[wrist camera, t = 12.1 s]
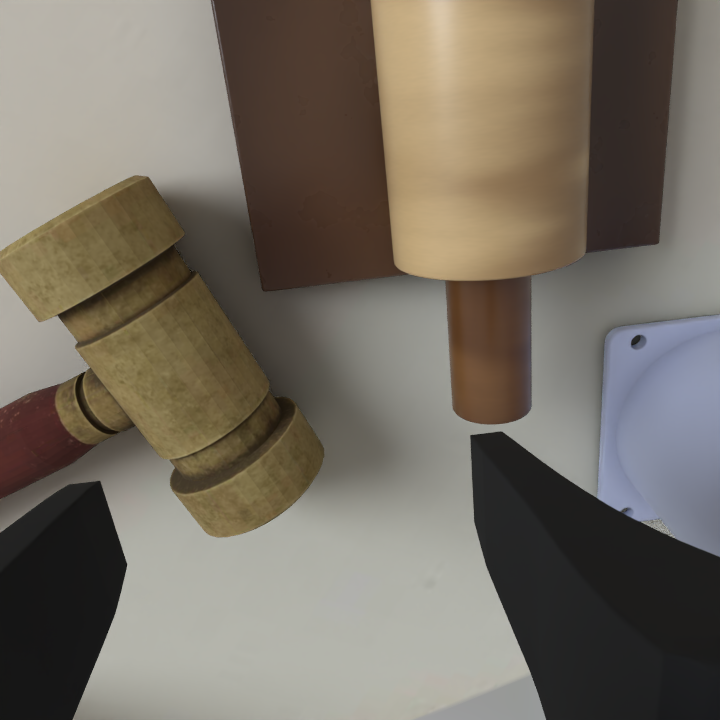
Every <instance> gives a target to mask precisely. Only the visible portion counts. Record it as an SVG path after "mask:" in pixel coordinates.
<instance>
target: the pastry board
mask: <svg viewBox="0 0 720 720" xmlns="http://www.w3.org/2000/svg"><path fill="white" fill-rule="evenodd" d="M211 4H212V10H213V16H214V21H215V27H216V33H217V38H218V44H219V49H220V55H221V61H222V66H223V72H224V78H225V83H226V89H227V94H228V100H229V106H230V111H231V117H232V123H233V128H234V134H235V140H236V145H237V151H238V156H239V162H240V168H241V173H242V179H243V185H244V190H245V196H246V201H247V207H248V213H249V218H250V224H251V230H252V235H253V241H254V247H255V252H256V258H257V263H258V269H259V275H260V280H261V286H262V290H263V291H265V292H268V291H276V290H284V289H292V288H301V287H309V286H317V285H325V284H334V283H342V282H350V281H358V280H367V279H375V278H383V277H391V276H400V275H408V273H405V272H403V271H401V270H400V269H398V268H397V267H396V266H395V264H394V258H393V246H392V235H391V224H390V213H389V201H388V190H387V179H386V168H385V157H384V145H383V134H382V123H381V112H380V101H379V89H378V78H377V67H376V56H375V45H374V33H373V22H372V11H371V0H211ZM677 4H678V0H594V30H593V60H592V90H591V121H590V151H589V182H588V212H587V243H586V252H585V253H589V252H598V251H606V250H614V249H622V248H631V247H639V246H647V245H655V244H658V243H659V235H660V222H661V209H662V197H663V184H664V171H665V158H666V145H667V132H668V120H669V107H670V94H671V81H672V68H673V56H674V43H675V30H676V17H677Z"/></svg>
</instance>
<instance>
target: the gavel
mask: <svg viewBox="0 0 720 720" xmlns="http://www.w3.org/2000/svg"><path fill="white" fill-rule="evenodd" d="M184 235H185V232H184V231H183V229H182V228H181V226H180V225H179V223H178V222H177V220H176V218H175V217H174V215H173V214H172V212H171V211H170V209H169V208H168V206H167V205H166V203H165V202H164V200H163V198H162V197H161V195H160V194H159V192H158V191H157V189H156V188H155V186H154V185H153V183H152V181H151V180H150V178H149V177H145V176H137V175H135V176H133V177H130V178H128V179H126V180H124V181H122V182H120V183H118V184H116V185H114V186H112V187H110V188H108V189H106V190H104V191H102V192H101V193H99V194H97V195H95V196H93V197H91V198H89V199H88V200H86V201H84V202H82V203H80V204H79V205H77V206H75V207H73V208H71V209H70V210H68V211H66V212H64V213H63V214H61V215H59V216H57V217H56V218H54V219H52V220H50V221H49V222H47V223H45V224H44V225H42V226H40V227H38V228H37V229H35V230H33V231H32V232H30V233H28V234H27V235H25V236H23V237H22V238H20V239H19V240H17V241H15V242H14V243H12V244H11V245H9V246H8V247H6V248H5V249H3V250H2V251H1V252H0V273H1V275H2V276H3V277H4V278H5V280H6V281H7V282H8V283H9V285H10V286H11V287H12V288H13V290H14V291H15V292H16V294H17V295H18V296H19V297H20V299H21V300H22V301H23V302H24V304H25V305H26V306H27V307H28V309H29V310H30V311H31V312H32V314H33V315H34V316H35V318H36V319H37V320H38V321H39V322H42V321H45V320H47V319H50V318H52V317H54V316H57V315H58V317H59V318H60V319H61V321H62V322H63V323H64V324H65V326H66V327H67V328H68V330H69V331H70V332H71V333H72V335H73V336H74V337H75V339H76V340H77V341H78V343H77V344H76V346H75V349H76V350H77V351H78V352H79V354H80V355H81V356H82V358H83V359H84V360H85V361H86V363H87V364H88V365H89V366H90V368H89V369H88V370H87V371H86V372H84V373H81V374H80V375H78V376H76V377H74V378H72V379H70V380H68V381H66V382H64V383H62V384H58V385H55V386H52V387H49V388H45V389H42V390H39V391H36V392H33V393H29V394H27V395H25V396H23V397H21V398H20V399H18V400H16V401H14V402H12V403H10V404H8V405H6V406H5V407H3V408H1V409H0V499H1V498H3V497H5V496H8V495H10V494H12V493H14V492H16V491H18V490H20V489H22V488H24V487H26V486H28V485H30V484H32V483H34V482H36V481H38V480H40V479H42V478H44V477H46V476H48V475H50V474H52V473H54V472H56V471H58V470H60V469H62V468H64V467H66V466H68V465H70V464H72V463H73V462H75V461H76V460H77V459H79V458H80V457H81V456H83V455H84V454H85V453H87V452H88V451H89V450H91V449H92V448H93V447H94V446H96V445H97V444H98V443H100V442H102V441H104V440H106V439H108V438H110V437H112V436H114V435H116V434H118V433H119V432H121V431H126V430H128V429H130V428H132V427H134V426H136V427H137V428H138V429H139V431H140V432H141V433H142V434H143V436H144V437H145V438H146V440H147V441H148V442H149V443H150V445H151V446H152V447H153V449H154V450H155V451H156V452H157V454H158V455H159V456H160V457H161V458H163V459H169V460H170V461H171V463H172V464H173V465H174V466H175V469H174V470H173V473H172V475H171V478H170V486H171V489H172V491H173V492H174V493H175V494H176V496H177V497H178V498H179V500H180V501H181V502H182V503H183V505H184V506H185V507H186V508H187V510H188V511H189V512H190V513H191V515H192V516H193V517H194V518H195V520H196V521H197V522H198V524H199V525H200V526H201V527H202V529H203V530H204V531H205V532H206V533H208V534H209V535H211V536H214V537H230V536H235V535H239V534H242V533H246V532H248V531H251V530H254V529H256V528H258V527H260V526H262V525H264V524H266V523H268V522H270V521H271V520H273V519H274V518H276V517H277V516H279V515H280V514H282V513H283V512H284V511H285V510H287V509H288V508H289V507H290V506H291V505H293V504H294V503H295V502H296V501H297V500H298V499H299V498H300V497H301V496H302V495H303V493H304V492H305V491H306V490H307V489H308V487H309V486H310V484H311V483H312V482H313V480H314V479H315V477H316V475H317V474H318V472H319V469H320V467H321V465H322V462H323V458H324V448H323V446H322V444H321V442H320V440H319V439H318V437H317V436H316V434H315V433H314V431H313V430H312V428H311V427H310V425H309V424H308V422H307V420H306V419H305V417H304V416H303V414H302V413H301V411H300V410H299V408H298V407H297V405H296V403H295V402H294V401H293V400H291V399H290V398H286V397H275V398H274V397H273V396H272V394H271V393H270V391H269V385H270V383H269V381H268V379H267V377H266V376H265V374H264V373H263V371H262V370H261V368H260V367H259V365H258V364H257V362H256V361H255V359H254V357H253V356H252V354H251V353H250V351H249V350H248V348H247V347H246V345H245V344H244V342H243V341H242V339H241V338H240V336H239V335H238V333H237V332H236V330H235V329H234V327H233V326H232V324H231V322H230V321H229V319H228V318H227V316H226V315H225V313H224V312H223V310H222V309H221V307H220V306H219V304H218V303H217V301H216V300H215V298H214V297H213V295H212V294H211V292H210V291H209V289H208V287H207V286H206V284H205V283H204V281H203V280H202V278H201V277H200V275H199V274H198V272H196V271H193V272H190V270H189V269H188V267H187V266H186V264H185V263H184V261H183V260H182V258H181V257H180V255H179V254H178V252H177V250H176V249H175V247H174V246H173V245H174V244H175V243H176V242H177V241H178V240H180V239H181V238H182V237H183V236H184Z"/></svg>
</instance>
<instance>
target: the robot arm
mask: <svg viewBox="0 0 720 720" xmlns="http://www.w3.org/2000/svg"><path fill="white" fill-rule="evenodd" d="M637 335H641V338H640V341H639V342H638V343H637V344H635V345H631V341H632V339H633V338H634V337H635V336H637ZM470 438H471V460H472V481H473V503H474V522H475V526H476V530H477V534H478V537H479V541H480V545H481V548H482V552H483V555H484V559H485V563H486V566H487V569H488V571H489V574H490V576H491V579H492V581H493V584H494V586H495V588H496V591H497V593H498V596H499V598H500V601H501V603H502V605H503V608H504V610H505V613H506V615H507V617H508V620H509V622H510V624H511V627H512V629H513V632H514V634H515V636H516V639H517V641H518V644H519V646H520V648H521V651H522V653H523V655H524V658H525V660H526V663H527V665H528V667H529V670H530V673H531V675H532V678H533V681H534V683H535V686H536V689H537V692H538V694H539V698H540V701H541V704H542V707H543V711H544V714H545V717H546V720H720V314H718V315H710V316H702V317H694V318H686V319H677V320H669V321H661V322H653V323H645V324H636V325H628V326H620V327H617V328H614V329H613V330H611V331H610V332H609V333H608V335H607V336H606V339H605V347H604V368H603V390H602V411H601V432H600V454H599V475H598V497H597V498H596V497H594V496H593V495H591V494H589V493H588V492H586V491H584V490H583V489H581V488H580V487H578V486H577V485H575V484H574V483H572V482H570V481H569V480H567V479H566V478H565V477H563V476H562V475H560V474H559V473H557V472H556V471H554V470H553V469H552V468H550V467H549V466H547V465H546V464H545V463H543V462H542V461H541V460H539V459H538V458H536V457H535V456H534V455H532V454H531V453H530V452H528V451H527V450H526V449H524V448H523V447H522V446H521V445H519V444H518V443H517V442H515V441H514V440H513V439H511V438H510V437H509V436H507V435H506V434H505V433H503V432H494V433H485V434H477V435H470ZM624 508H628V510H626V511H625V512H623V513H622V512H621V511H622V510H623V509H624ZM656 519H661V520H662V522H663V523H664V524H665V525H666V527H667V528H668V529H669V530H670V532H671V533H672V534H673V535H674V537H675V538H676V539H675V538H673V537H670V536H668V535H666V534H664V533H661V532H659V531H657V530H655V529H653V528H651V527H649V526H647V525H645V524H643V523H641V522H640V521H648V520H656ZM126 568H127V563H126V559H125V556H124V553H123V550H122V547H121V544H120V541H119V538H118V535H117V532H116V529H115V525H114V522H113V519H112V516H111V513H110V510H109V507H108V504H107V501H106V498H105V494H104V491H103V488H102V485H101V482H100V481H95V482H87V483H78V484H70V485H67V486H66V487H64V488H62V489H61V490H59V491H58V492H56V493H55V494H53V495H52V496H50V497H49V498H47V499H46V500H44V501H43V502H42V503H40V504H39V505H37V506H36V507H35V508H33V509H32V510H31V511H29V512H28V513H27V514H25V515H24V516H22V517H21V518H20V519H18V520H17V521H16V522H14V523H13V524H12V525H10V526H9V527H8V528H6V529H5V530H4V531H2V532H1V533H0V720H72V719H73V717H74V714H75V712H76V710H77V707H78V705H79V702H80V700H81V697H82V695H83V692H84V690H85V688H86V685H87V683H88V680H89V678H90V675H91V673H92V670H93V668H94V666H95V663H96V661H97V658H98V656H99V653H100V651H101V648H102V646H103V643H104V641H105V638H106V636H107V633H108V631H109V628H110V626H111V623H112V620H113V618H114V615H115V612H116V609H117V605H118V601H119V597H120V594H121V590H122V585H123V581H124V577H125V572H126Z"/></svg>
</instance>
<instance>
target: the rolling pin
mask: <svg viewBox="0 0 720 720" xmlns="http://www.w3.org/2000/svg"><path fill="white" fill-rule="evenodd" d="M371 11H372V22H373V33H374V45H375V56H376V67H377V78H378V89H379V101H380V112H381V123H382V134H383V145H384V157H385V168H386V179H387V190H388V201H389V213H390V224H391V235H392V246H393V258H394V264H395V266H396V267H397V268H398V269H400V270H401V271H403V272H405V273H408V274H411V275H414V276H419V277H423V278H429V279H437V280H445V284H446V301H447V319H448V336H449V354H450V371H451V389H452V406H453V410H454V412H455V413H456V414H457V415H458V416H459V417H461V418H463V419H465V420H467V421H470V422H474V423H479V424H504V423H509V422H513V421H516V420H518V419H521V418H522V417H524V416H525V415H527V414H528V413H529V411H530V409H531V407H532V362H531V275H537V274H541V273H546V272H550V271H553V270H557V269H560V268H563V267H565V266H568V265H571V264H573V263H574V262H576V261H578V260H579V259H581V258H582V257H583V256H584V254H585V252H586V243H587V212H588V182H589V151H590V121H591V90H592V60H593V30H594V0H371Z"/></svg>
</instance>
